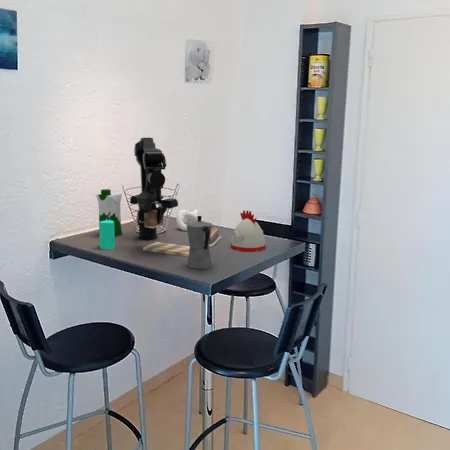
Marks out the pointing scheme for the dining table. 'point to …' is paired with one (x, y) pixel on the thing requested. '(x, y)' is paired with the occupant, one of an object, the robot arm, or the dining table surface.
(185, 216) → the white knot sculpture
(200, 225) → the coffeepot
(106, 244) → the candle
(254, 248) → the kitchen timer
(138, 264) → the dining table surface
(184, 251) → the board
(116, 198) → the milk carton
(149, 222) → the block
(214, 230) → the packaged product
